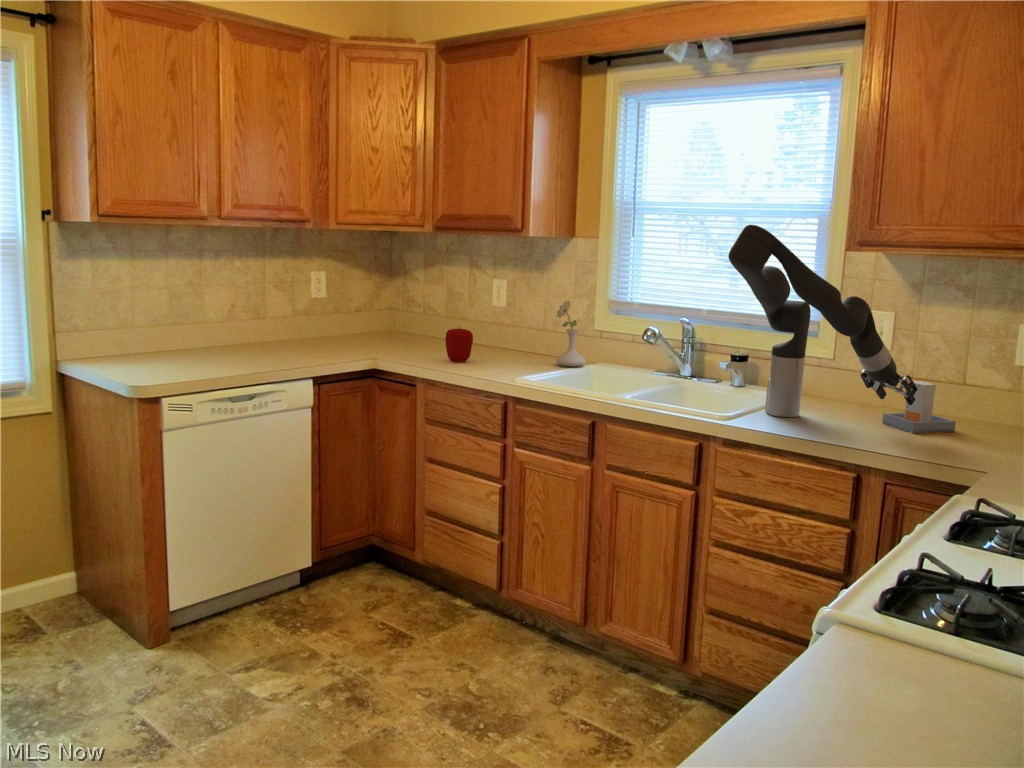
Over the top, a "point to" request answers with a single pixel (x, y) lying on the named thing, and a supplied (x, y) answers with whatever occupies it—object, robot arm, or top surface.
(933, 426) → the tray
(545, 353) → the top surface
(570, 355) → the flower in vase
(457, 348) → the apple
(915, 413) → the skincare box
